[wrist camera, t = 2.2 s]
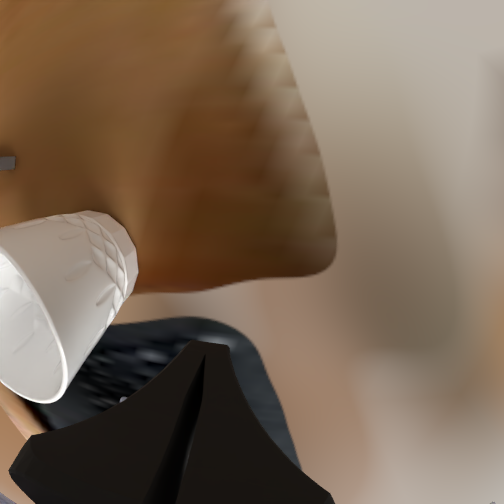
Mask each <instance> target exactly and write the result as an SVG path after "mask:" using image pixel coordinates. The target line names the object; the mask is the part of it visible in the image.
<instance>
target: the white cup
mask: <svg viewBox="0 0 504 504" xmlns="http://www.w3.org/2000/svg"><path fill="white" fill-rule="evenodd" d="M138 272H139V271H138V263H137V254H136V248H135V246H134V244H133V243H132V241H131V239H130V237H129V235H128V233H127V231H126V229H125V228H124V227H123V226H122V225H120V224H119V223H118V222H117V221H115V220H114V219H113V218H112V217H111V216H109V215H108V214H105V213H100V212H95V211H90V210H86V211H82V212H77V213H73V214H59V215H54V216H49V217H43V218H37V219H33V220H28V221H24V222H20V223H16V224H12V225H8V226H4V227H1V228H0V381H1V382H2V383H3V384H4V385H5V386H6V387H8V388H9V389H10V390H12V391H13V392H15V393H16V394H18V395H20V396H22V397H24V398H26V399H28V400H31V401H34V402H38V403H52V402H55V401H57V400H58V399H60V398H61V397H62V395H63V394H64V392H65V391H66V389H67V388H68V386H69V384H70V383H71V381H72V380H73V378H74V377H75V375H76V373H77V372H78V370H79V369H80V367H81V366H82V364H83V363H84V361H85V360H86V358H87V357H88V356H89V354H90V353H91V351H92V350H93V348H94V347H95V345H96V344H97V343H98V341H99V340H100V338H101V337H102V335H103V334H104V333H105V331H106V329H107V327H108V326H109V325H110V323H111V322H112V320H113V319H114V318H115V316H116V314H117V312H118V311H119V309H120V307H121V305H122V304H123V303H124V301H125V300H126V299H127V298H128V296H129V295H130V294H131V292H132V291H133V288H134V284H135V281H136V278H137V275H138Z"/></svg>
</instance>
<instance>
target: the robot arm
mask: <svg viewBox="0 0 504 504" xmlns="http://www.w3.org/2000/svg"><path fill="white" fill-rule="evenodd" d="M9 474H10V476H11V478H12V479H13V481H14V482H15V483H16V484H17V485H18V486H19V488H20V489H21V490H22V491H23V492H24V493H25V494H26V495H27V496H28V497H29V498H30V499H31V500H32V501H33V502H35V504H335V503H334V500H333V498H332V496H331V494H330V493H329V492H328V491H326V490H325V489H323V488H322V487H321V486H319V485H318V484H317V483H316V482H314V481H313V480H312V479H311V478H309V477H308V476H307V475H306V474H305V473H304V472H302V471H301V470H300V469H299V468H298V467H297V466H296V465H295V464H294V463H293V462H292V461H291V460H290V459H289V458H288V457H287V456H286V455H285V454H284V453H283V451H282V450H281V449H280V448H279V447H278V446H277V445H276V443H275V442H274V441H273V440H272V439H271V438H270V436H269V435H268V433H267V432H266V431H265V429H264V428H263V427H262V425H261V424H260V422H259V421H258V419H257V418H256V416H255V414H254V413H253V411H252V409H251V407H250V406H249V404H248V402H247V400H246V398H245V396H244V394H243V392H242V389H241V387H240V385H239V382H238V380H237V377H236V375H235V372H234V369H233V365H232V361H231V357H230V348H229V347H228V346H227V345H224V344H216V343H209V342H203V341H196V340H191V341H189V342H188V343H187V344H186V346H185V347H184V348H183V349H182V350H181V352H180V353H179V354H178V355H177V356H176V357H175V358H174V359H173V360H172V361H171V362H170V363H169V364H168V365H167V366H166V367H165V368H164V369H163V370H162V371H161V372H160V373H159V374H158V375H156V376H155V377H154V378H153V379H152V380H151V381H149V382H148V383H147V384H146V385H145V386H143V387H142V388H141V389H139V390H138V391H137V392H135V393H134V394H132V395H131V396H129V397H121V399H120V403H118V404H117V405H115V406H113V407H111V408H109V409H108V410H106V411H104V412H102V413H100V414H98V415H96V416H94V417H91V418H89V419H86V420H84V421H81V422H79V423H76V424H74V425H71V426H68V427H65V428H61V429H57V430H53V431H49V432H45V433H41V434H36V435H31V437H30V438H29V439H28V440H27V442H26V443H25V444H24V446H23V447H22V449H21V450H20V452H19V454H18V456H17V457H16V459H15V461H14V462H13V464H12V465H11V467H10V469H9ZM0 504H16V503H15V502H13V501H12V500H10V499H9V498H7V497H6V496H4V495H3V494H2V493H0ZM490 504H495V502H492V503H490Z"/></svg>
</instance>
